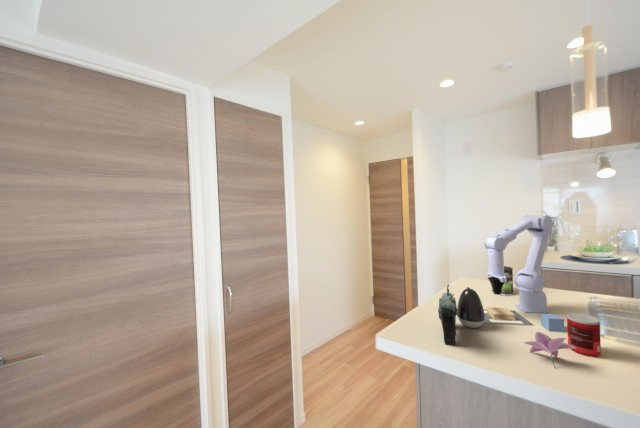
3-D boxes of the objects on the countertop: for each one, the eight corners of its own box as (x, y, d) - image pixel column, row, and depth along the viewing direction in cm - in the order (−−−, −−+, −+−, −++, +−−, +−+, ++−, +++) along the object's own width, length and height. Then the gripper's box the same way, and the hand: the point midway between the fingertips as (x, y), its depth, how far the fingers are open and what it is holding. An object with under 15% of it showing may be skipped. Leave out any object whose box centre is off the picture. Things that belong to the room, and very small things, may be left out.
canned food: (590, 346, 89) (589, 313, 89) (607, 358, 81) (606, 323, 81) (562, 343, 91) (561, 312, 91) (576, 355, 84) (575, 321, 84)
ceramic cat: (459, 349, 91) (456, 292, 90) (438, 345, 93) (436, 290, 93) (456, 325, 109) (454, 277, 108) (439, 323, 111) (437, 276, 111)
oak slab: (506, 313, 118) (506, 307, 118) (515, 320, 110) (515, 314, 110) (486, 312, 120) (486, 307, 120) (494, 319, 112) (494, 314, 112)
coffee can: (517, 295, 140) (516, 269, 140) (496, 295, 141) (495, 269, 141) (507, 289, 150) (506, 265, 150) (487, 289, 152) (486, 265, 151)
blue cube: (555, 326, 104) (555, 314, 104) (564, 332, 99) (564, 319, 99) (541, 325, 105) (540, 313, 105) (549, 331, 100) (548, 318, 100)
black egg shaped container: (483, 321, 111) (481, 286, 111) (487, 332, 101) (485, 293, 101) (456, 318, 115) (455, 284, 115) (457, 328, 106) (456, 291, 106)
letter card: (514, 310, 121) (514, 310, 121) (534, 325, 105) (534, 325, 105) (471, 309, 125) (471, 308, 125) (484, 323, 109) (484, 323, 109)
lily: (585, 370, 78) (572, 335, 83) (576, 369, 72) (562, 331, 76) (536, 367, 86) (527, 335, 91) (524, 366, 80) (515, 331, 85)
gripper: (479, 260, 125) (481, 288, 125) (493, 267, 111) (494, 299, 111) (496, 260, 123) (497, 289, 124) (511, 267, 109) (513, 299, 109)
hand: (497, 293), depth 117 cm, fingers closed
